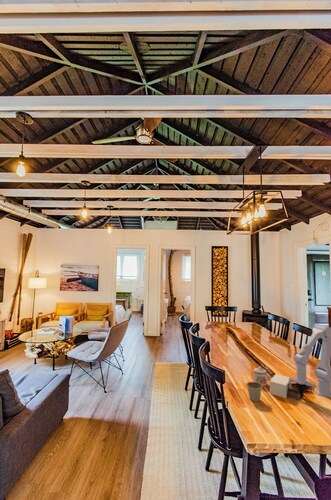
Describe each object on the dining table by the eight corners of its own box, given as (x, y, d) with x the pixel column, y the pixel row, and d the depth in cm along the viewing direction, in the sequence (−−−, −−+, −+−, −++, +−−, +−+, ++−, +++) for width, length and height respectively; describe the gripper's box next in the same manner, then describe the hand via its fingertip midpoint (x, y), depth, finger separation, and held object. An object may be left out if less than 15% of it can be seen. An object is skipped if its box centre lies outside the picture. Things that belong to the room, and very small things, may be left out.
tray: (279, 388, 179) (279, 385, 180) (301, 395, 171) (301, 391, 171) (275, 394, 171) (275, 390, 172) (298, 401, 163) (298, 397, 163)
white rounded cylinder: (283, 389, 177) (282, 383, 178) (288, 390, 175) (288, 385, 175) (281, 391, 175) (281, 385, 175) (287, 392, 172) (287, 386, 173)
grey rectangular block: (275, 385, 183) (275, 374, 183) (291, 390, 177) (291, 377, 177) (269, 393, 171) (269, 381, 171) (286, 398, 165) (286, 385, 166)
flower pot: (243, 397, 166) (243, 383, 166) (255, 394, 169) (255, 380, 170) (253, 404, 157) (253, 389, 158) (265, 401, 161) (265, 386, 161)
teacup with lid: (255, 386, 182) (255, 369, 182) (251, 380, 191) (251, 364, 191) (273, 386, 181) (272, 369, 182) (268, 381, 190) (268, 364, 191)
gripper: (287, 372, 169) (287, 394, 168) (313, 378, 160) (313, 401, 159) (290, 369, 174) (290, 390, 173) (314, 375, 166) (315, 397, 165)
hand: (301, 395), depth 166 cm, fingers closed
